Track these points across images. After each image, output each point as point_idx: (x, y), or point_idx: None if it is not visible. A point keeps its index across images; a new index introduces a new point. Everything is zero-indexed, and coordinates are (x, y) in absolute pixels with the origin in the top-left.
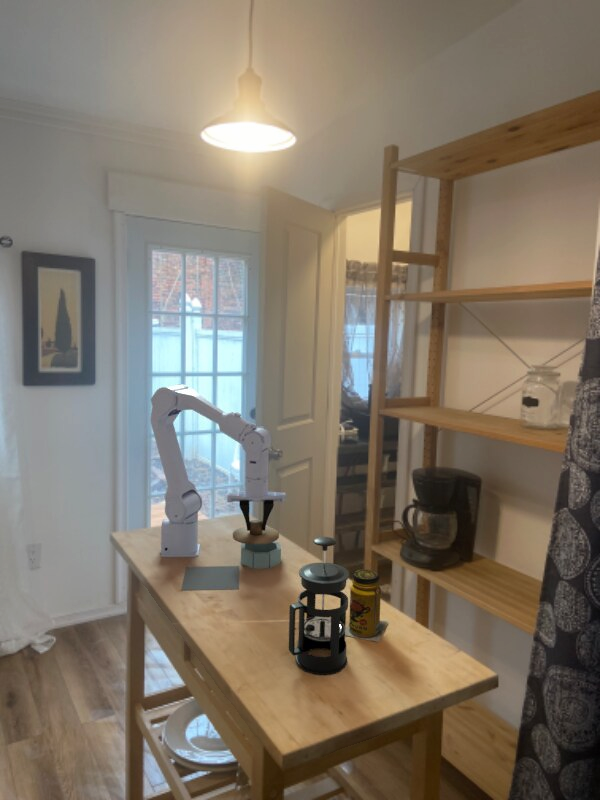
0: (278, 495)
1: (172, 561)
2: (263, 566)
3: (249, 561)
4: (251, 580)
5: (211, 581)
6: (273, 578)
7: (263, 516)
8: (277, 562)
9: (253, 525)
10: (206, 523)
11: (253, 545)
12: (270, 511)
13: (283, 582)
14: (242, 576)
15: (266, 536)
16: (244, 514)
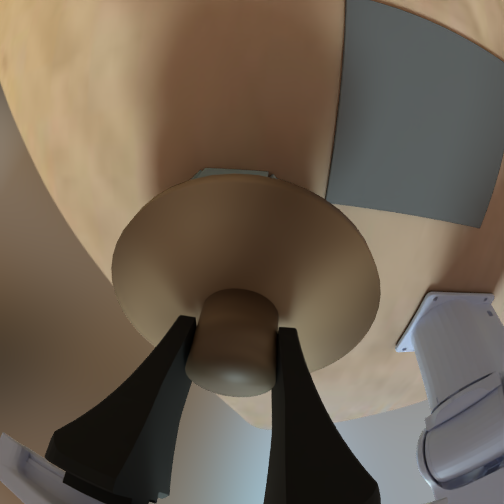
0: (16, 495)
1: (484, 272)
2: (225, 172)
3: None
4: (287, 67)
5: (443, 89)
6: (191, 80)
7: (163, 399)
8: None
9: (252, 347)
10: (337, 416)
11: None
12: (84, 415)
13: (155, 48)
14: (322, 111)
15: (173, 264)
16: (329, 433)
